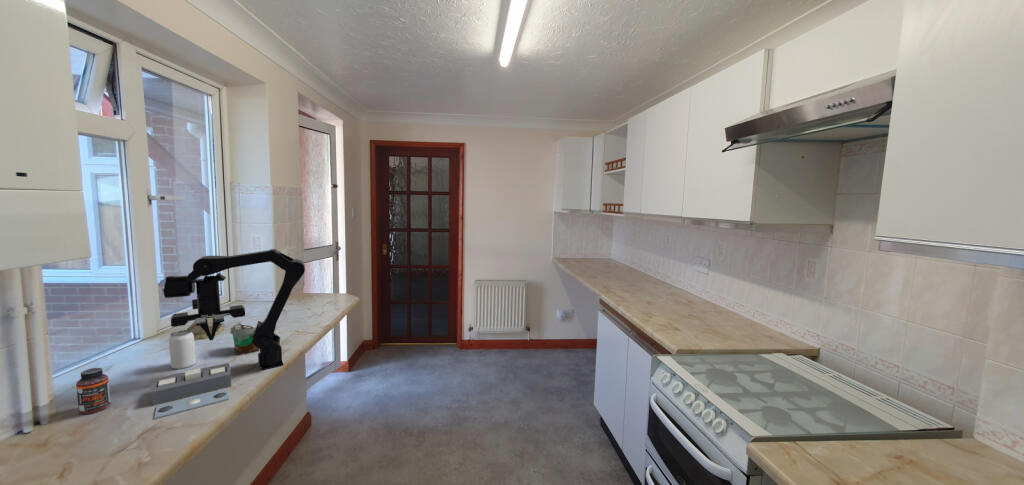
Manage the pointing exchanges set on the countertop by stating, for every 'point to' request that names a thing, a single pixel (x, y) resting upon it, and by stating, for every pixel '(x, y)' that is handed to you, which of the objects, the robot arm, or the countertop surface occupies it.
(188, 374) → the button middle
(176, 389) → the button board
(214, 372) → the button
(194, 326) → the ceramic model
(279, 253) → the robot arm
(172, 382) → the button
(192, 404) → the pattern card
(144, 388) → the countertop surface
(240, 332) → the food container
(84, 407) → the supplement bottle
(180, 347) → the can
